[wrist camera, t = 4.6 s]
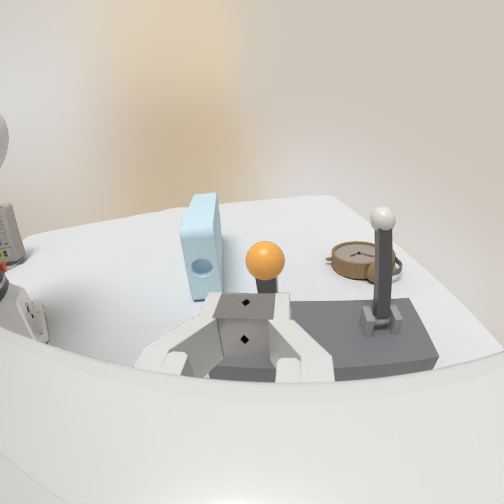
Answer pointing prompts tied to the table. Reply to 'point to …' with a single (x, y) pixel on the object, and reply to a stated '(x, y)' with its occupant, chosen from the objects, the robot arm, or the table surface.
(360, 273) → the alarm clock
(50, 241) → the table surface
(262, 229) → the table surface
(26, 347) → the robot arm
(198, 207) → the light blue rounded box
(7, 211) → the network device
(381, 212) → the grey lever
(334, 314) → the switch box
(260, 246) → the orange lever
